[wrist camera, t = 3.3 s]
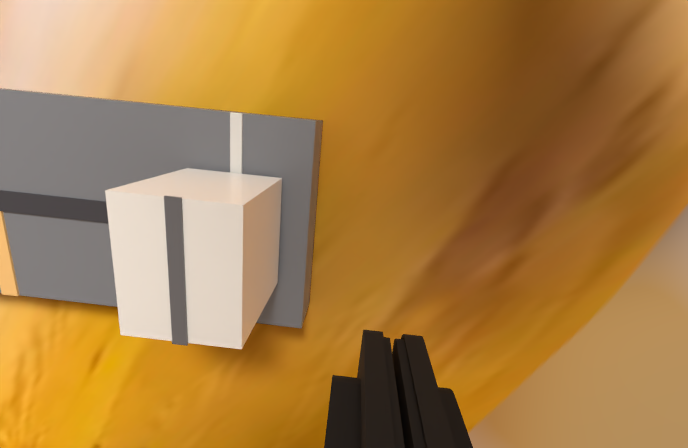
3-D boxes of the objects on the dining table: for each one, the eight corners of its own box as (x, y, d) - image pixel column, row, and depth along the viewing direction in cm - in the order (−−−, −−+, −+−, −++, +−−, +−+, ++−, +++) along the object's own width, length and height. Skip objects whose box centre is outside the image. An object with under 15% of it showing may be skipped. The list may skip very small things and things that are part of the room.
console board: (322, 120, 20) (315, 120, 17) (309, 303, 24) (301, 329, 21) (-105, 77, 21) (-183, 70, 18) (-57, 261, 24) (-116, 280, 21)
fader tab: (282, 177, 18) (242, 204, 12) (277, 283, 20) (240, 351, 14) (187, 167, 18) (102, 189, 12) (191, 273, 20) (118, 337, 14)
